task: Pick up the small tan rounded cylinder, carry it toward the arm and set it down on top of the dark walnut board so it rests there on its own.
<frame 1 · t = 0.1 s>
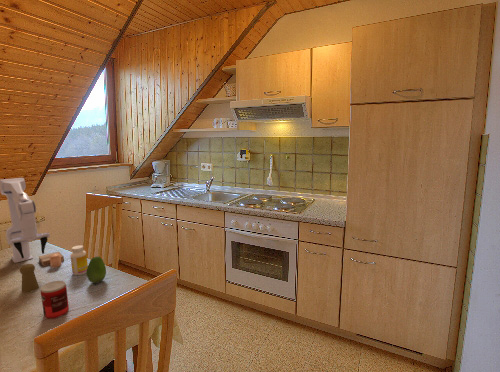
hand: (33, 255, 137), 10 cm above the table, fingers open, 7 cm apart
supplement bottle: (80, 272, 142), on the table
canned food: (56, 313, 110), on the table
walnut board: (51, 260, 155), on the table
cork: (30, 289, 127), on the table
fruit: (97, 282, 132), on the table
tan rounded cylinder: (56, 265, 149), on the table
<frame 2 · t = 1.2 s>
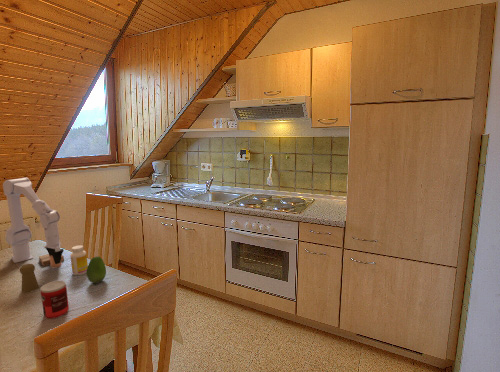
hand: (55, 261, 148), 2 cm above the table, fingers open, 7 cm apart
nothing on the table moved.
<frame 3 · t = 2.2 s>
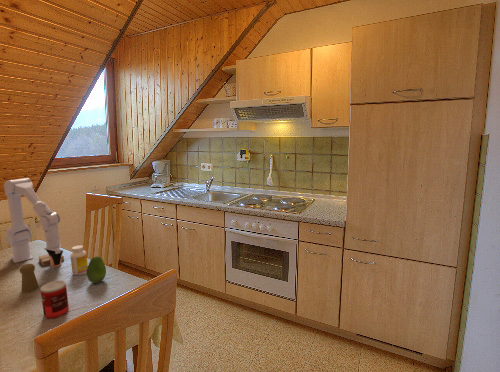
hand: (55, 263, 149), 1 cm above the table, fingers closed on tan rounded cylinder, 5 cm apart
tan rounded cylinder: (56, 265, 149), on the table, touching gripper
everything else where it was.
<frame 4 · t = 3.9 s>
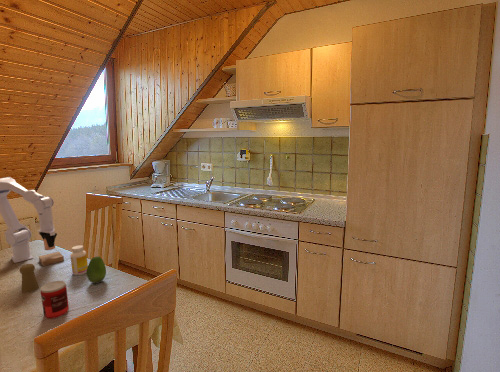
hand: (49, 245, 153), 8 cm above the table, fingers closed on tan rounded cylinder, 5 cm apart
tan rounded cylinder: (50, 248, 153), point 7 cm above the table, touching gripper
everything else where it was.
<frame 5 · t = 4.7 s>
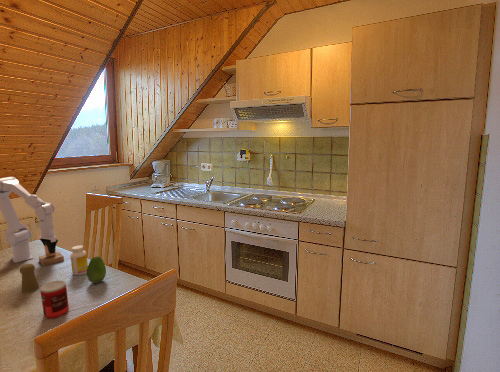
hand: (50, 252, 154), 5 cm above the table, fingers closed on tan rounded cylinder, 5 cm apart
tan rounded cylinder: (50, 254, 154), point 3 cm above the table, touching gripper
everything else where it was.
when the fingers open (5 cm above the table, at t = 5.4 s): tan rounded cylinder stays where it is, resting on walnut board.
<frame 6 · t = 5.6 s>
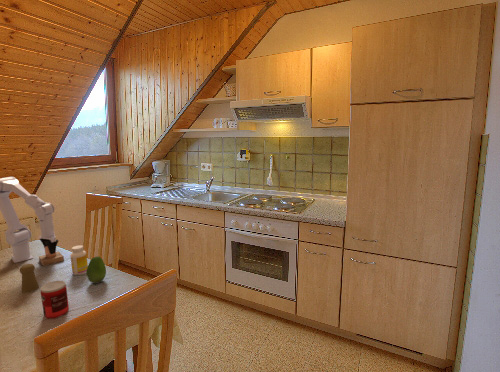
hand: (50, 252, 154), 5 cm above the table, fingers open, 6 cm apart
tan rounded cylinder: (51, 256, 154), point 3 cm above the table, touching walnut board
everything else where it was.
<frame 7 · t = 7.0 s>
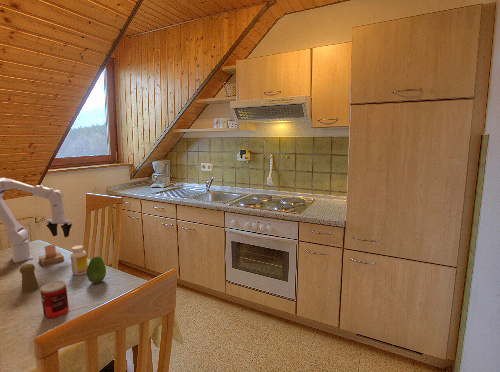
hand: (60, 236, 161), 10 cm above the table, fingers open, 7 cm apart
nothing on the table moved.
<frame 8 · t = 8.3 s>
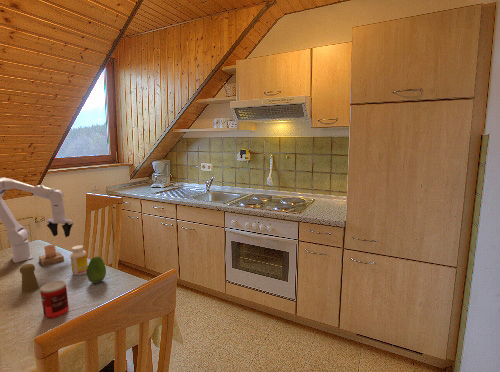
hand: (61, 236, 161), 10 cm above the table, fingers open, 7 cm apart
nothing on the table moved.
at the end: tan rounded cylinder inside the target area on the walnut board (0.0 cm from its centre), point 2.5 cm above the walnut board's base; tan rounded cylinder tilted 1°; the gripper is holding nothing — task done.
